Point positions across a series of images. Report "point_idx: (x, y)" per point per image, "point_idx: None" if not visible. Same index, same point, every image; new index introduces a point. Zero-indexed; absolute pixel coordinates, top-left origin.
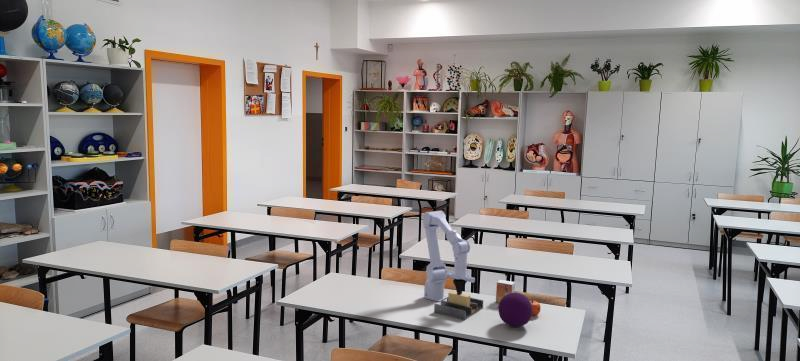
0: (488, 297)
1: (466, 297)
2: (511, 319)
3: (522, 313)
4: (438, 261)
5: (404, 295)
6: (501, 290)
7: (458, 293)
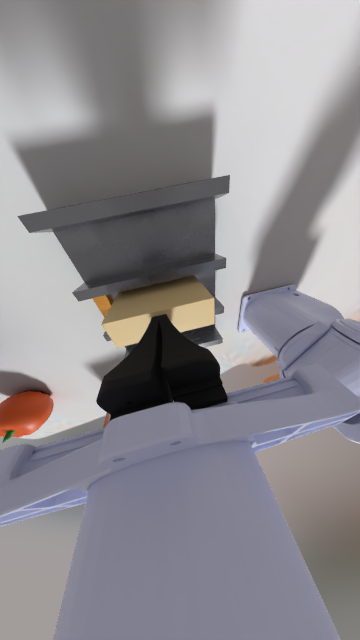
0: None
1: (107, 321)
2: None
3: None
4: None
5: (355, 257)
6: None
7: (157, 318)
